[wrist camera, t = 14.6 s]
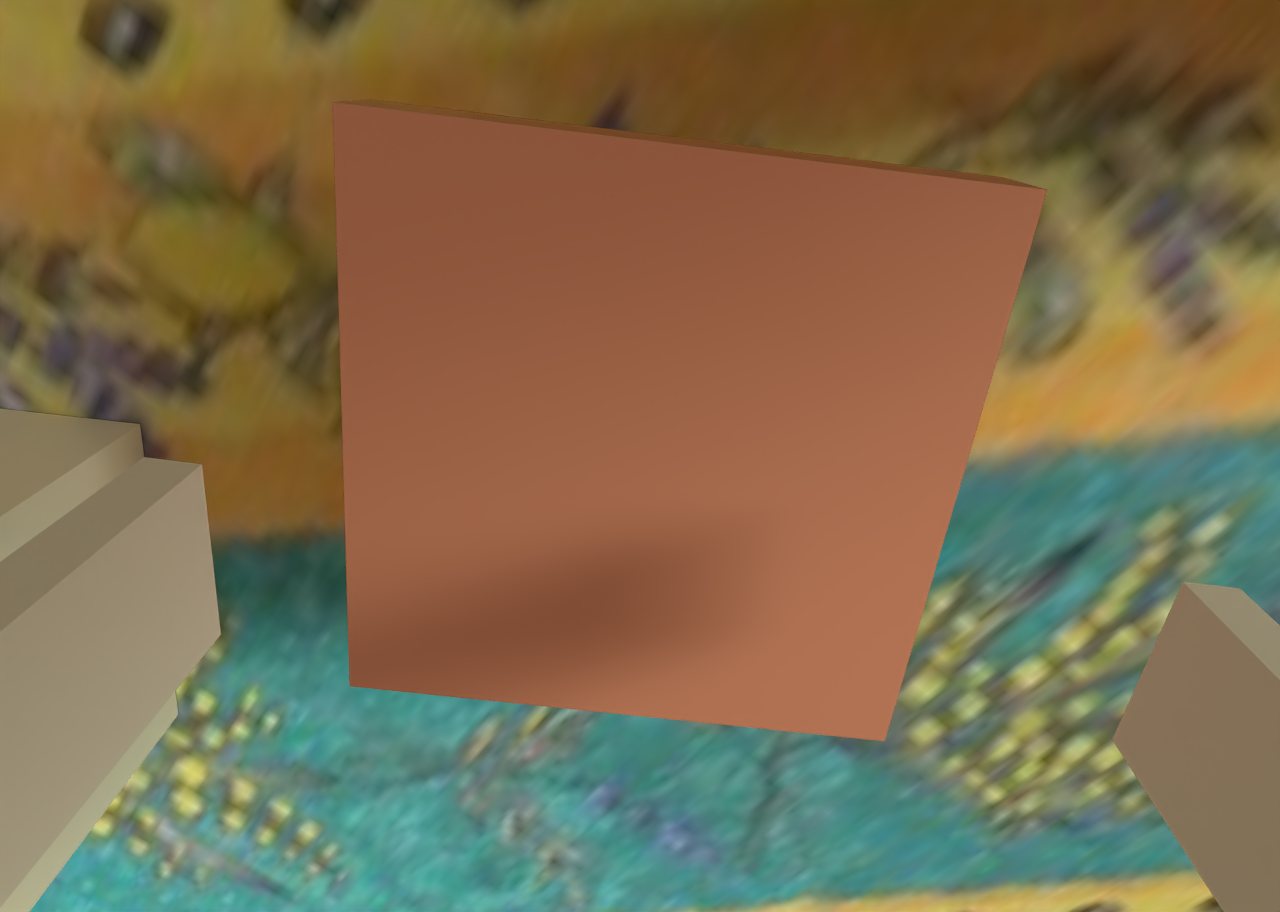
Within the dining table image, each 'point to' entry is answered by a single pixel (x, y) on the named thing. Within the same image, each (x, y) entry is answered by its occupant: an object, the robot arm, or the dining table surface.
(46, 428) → the box
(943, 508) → the lid
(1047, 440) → the dining table surface
